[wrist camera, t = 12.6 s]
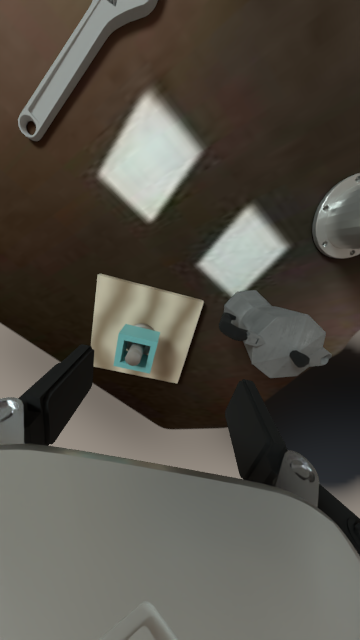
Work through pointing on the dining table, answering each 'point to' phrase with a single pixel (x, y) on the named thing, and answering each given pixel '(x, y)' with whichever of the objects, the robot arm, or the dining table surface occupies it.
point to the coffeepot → (274, 335)
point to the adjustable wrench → (78, 59)
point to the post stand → (143, 325)
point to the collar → (139, 337)
